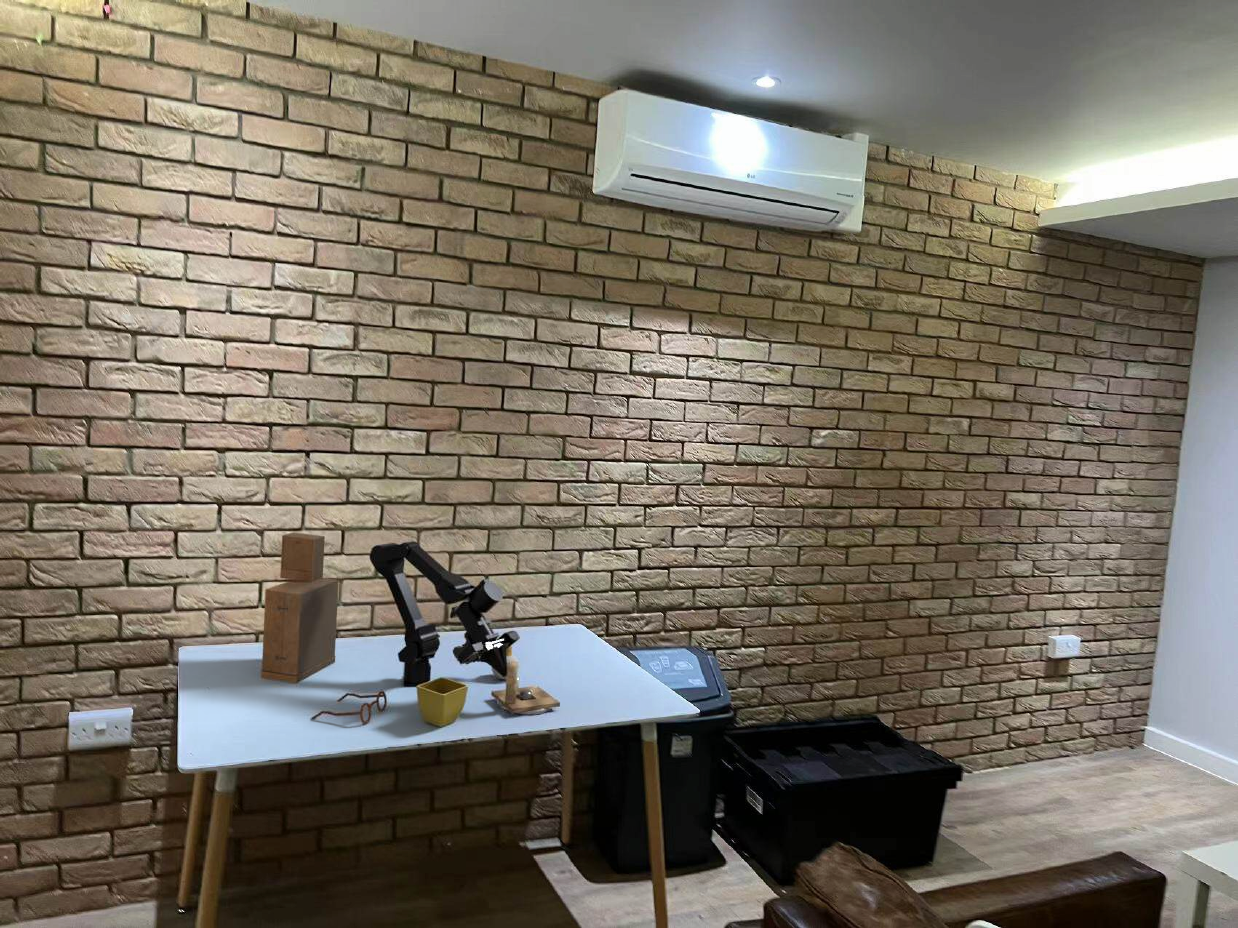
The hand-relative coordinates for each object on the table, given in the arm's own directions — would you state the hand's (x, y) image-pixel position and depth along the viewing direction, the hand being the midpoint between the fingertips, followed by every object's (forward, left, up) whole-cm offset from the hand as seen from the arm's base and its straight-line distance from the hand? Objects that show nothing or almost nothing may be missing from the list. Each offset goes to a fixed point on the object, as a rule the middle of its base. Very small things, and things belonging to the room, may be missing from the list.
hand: (505, 675), depth 220 cm
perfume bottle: (+3, +23, -9) cm, 25 cm away
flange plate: (+6, +3, -8) cm, 10 cm away
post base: (+6, +4, -9) cm, 11 cm away
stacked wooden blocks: (-50, +34, -9) cm, 61 cm away
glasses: (-37, +1, -9) cm, 38 cm away
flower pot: (-16, -7, -9) cm, 20 cm away
